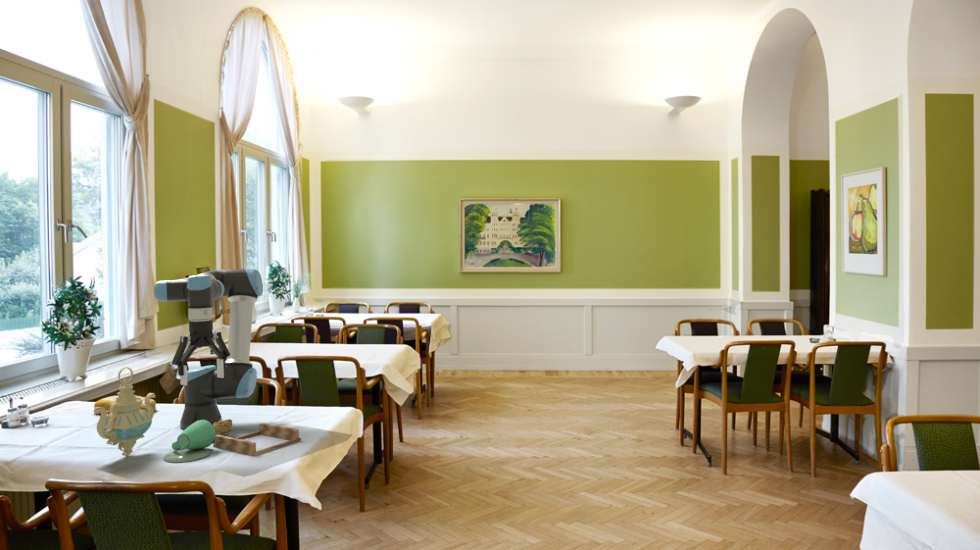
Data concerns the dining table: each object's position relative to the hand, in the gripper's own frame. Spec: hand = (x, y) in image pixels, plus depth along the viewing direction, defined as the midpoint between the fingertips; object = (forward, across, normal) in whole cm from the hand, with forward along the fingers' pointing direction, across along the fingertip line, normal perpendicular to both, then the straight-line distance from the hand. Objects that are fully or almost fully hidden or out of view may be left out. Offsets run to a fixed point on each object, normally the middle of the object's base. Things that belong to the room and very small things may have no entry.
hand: (202, 381), depth 212 cm
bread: (+26, +14, +79) cm, 84 cm away
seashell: (+26, +9, +7) cm, 28 cm away
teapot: (+24, -18, +16) cm, 34 cm away
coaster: (+24, -8, -2) cm, 25 cm away
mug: (+20, -10, +1) cm, 22 cm away
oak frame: (+24, +14, -11) cm, 30 cm away
